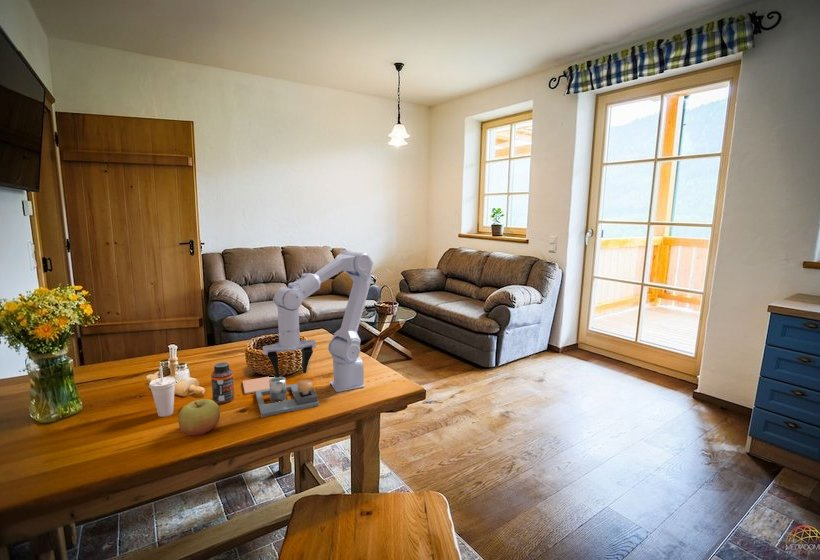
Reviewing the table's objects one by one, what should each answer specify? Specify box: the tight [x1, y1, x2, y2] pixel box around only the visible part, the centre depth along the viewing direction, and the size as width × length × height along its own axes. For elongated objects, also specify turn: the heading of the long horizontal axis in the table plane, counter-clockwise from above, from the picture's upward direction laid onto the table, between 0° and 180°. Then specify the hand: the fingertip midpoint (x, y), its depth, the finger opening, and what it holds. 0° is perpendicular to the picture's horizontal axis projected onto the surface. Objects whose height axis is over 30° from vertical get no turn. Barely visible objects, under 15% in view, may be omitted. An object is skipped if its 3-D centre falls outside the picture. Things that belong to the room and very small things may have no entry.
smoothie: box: [148, 366, 177, 418], centre depth 113 cm, size 6×6×14 cm
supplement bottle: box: [210, 362, 235, 405], centre depth 122 cm, size 6×6×11 cm
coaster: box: [242, 376, 275, 395], centre depth 133 cm, size 10×10×1 cm
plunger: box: [296, 378, 314, 395], centre depth 121 cm, size 4×4×4 cm
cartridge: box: [269, 376, 288, 403], centre depth 123 cm, size 5×5×7 cm
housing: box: [254, 383, 320, 418], centre depth 123 cm, size 16×16×3 cm
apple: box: [177, 398, 221, 436], centre depth 105 cm, size 10×10×8 cm
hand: (290, 374), depth 118 cm, fingers open, 7 cm apart
